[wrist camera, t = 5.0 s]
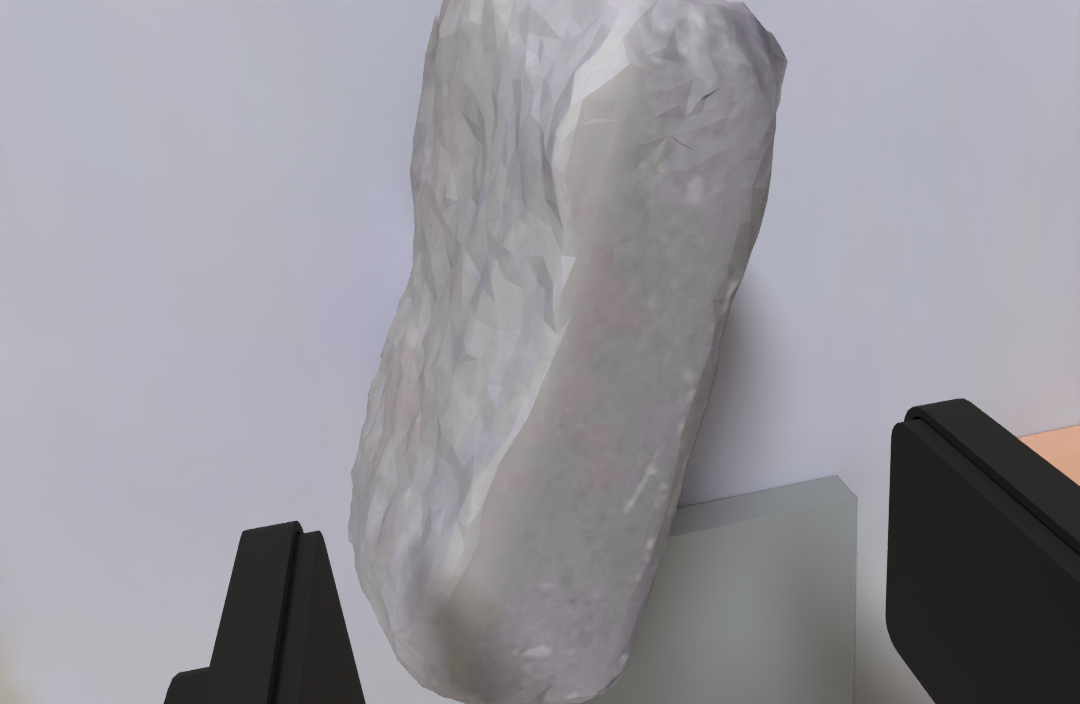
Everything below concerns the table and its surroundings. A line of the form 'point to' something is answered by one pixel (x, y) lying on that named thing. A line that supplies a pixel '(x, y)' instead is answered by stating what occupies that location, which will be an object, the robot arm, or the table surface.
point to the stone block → (556, 330)
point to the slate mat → (751, 603)
